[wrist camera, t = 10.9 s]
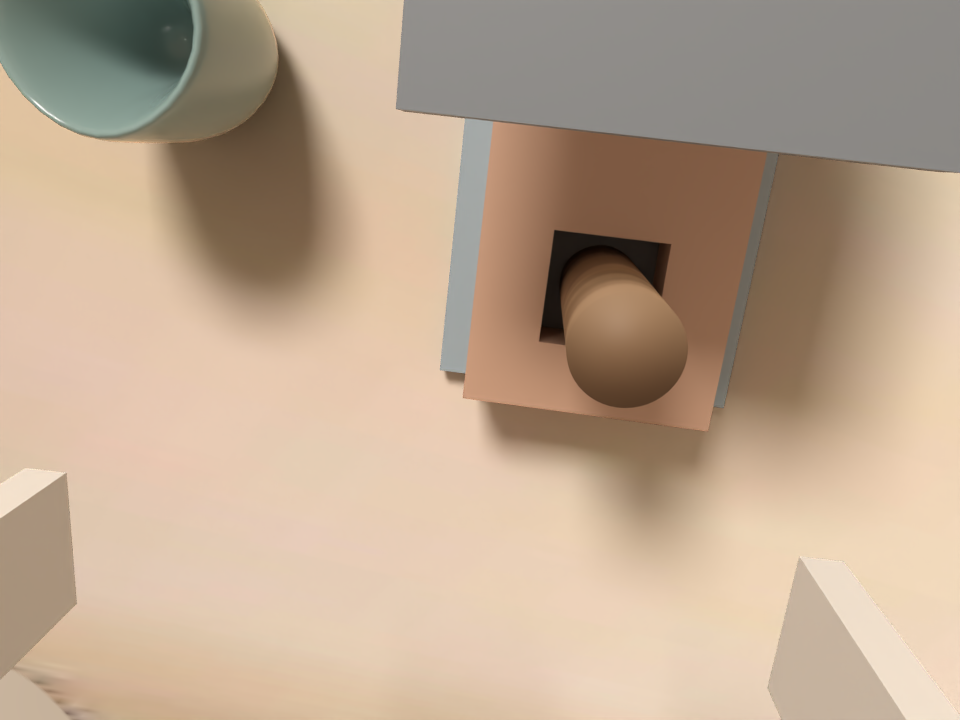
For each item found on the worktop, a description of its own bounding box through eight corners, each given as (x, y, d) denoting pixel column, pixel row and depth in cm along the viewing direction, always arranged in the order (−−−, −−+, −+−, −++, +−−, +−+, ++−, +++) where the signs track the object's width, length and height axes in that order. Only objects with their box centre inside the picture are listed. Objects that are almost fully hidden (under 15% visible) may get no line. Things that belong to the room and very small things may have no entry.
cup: (333, 66, 34) (247, 31, 24) (220, 177, 36) (99, 185, 26) (216, -75, 33) (79, -170, 23) (106, 47, 35) (-64, 6, 25)
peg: (565, 240, 33) (576, 284, 21) (644, 250, 33) (698, 300, 21) (553, 317, 34) (558, 399, 22) (631, 327, 34) (675, 415, 22)
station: (442, 364, 37) (365, 513, 22) (500, -209, 30) (447, -592, 15) (719, 401, 36) (844, 584, 21) (843, -179, 29) (1170, -552, 14)
